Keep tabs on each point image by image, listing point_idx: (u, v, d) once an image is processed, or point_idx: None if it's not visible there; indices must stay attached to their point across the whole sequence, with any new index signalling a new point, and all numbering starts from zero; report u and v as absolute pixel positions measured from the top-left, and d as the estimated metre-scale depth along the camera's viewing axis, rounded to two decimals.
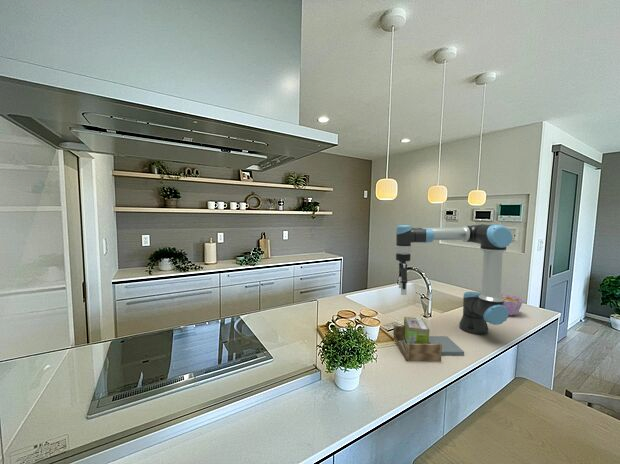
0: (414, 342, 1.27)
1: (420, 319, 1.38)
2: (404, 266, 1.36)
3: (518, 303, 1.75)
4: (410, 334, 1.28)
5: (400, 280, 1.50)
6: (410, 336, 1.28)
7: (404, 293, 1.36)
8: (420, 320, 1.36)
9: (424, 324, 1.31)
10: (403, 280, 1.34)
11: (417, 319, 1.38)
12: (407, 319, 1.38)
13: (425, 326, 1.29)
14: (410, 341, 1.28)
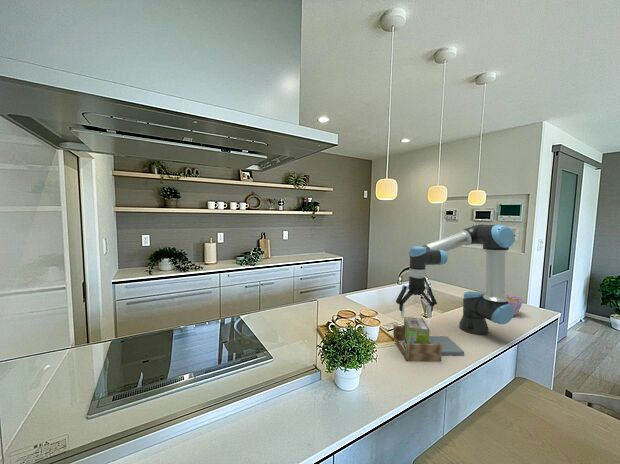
0: (414, 342, 1.27)
1: (420, 319, 1.38)
2: (403, 288, 1.33)
3: (518, 303, 1.75)
4: (410, 334, 1.28)
5: (428, 308, 1.34)
6: (410, 336, 1.28)
7: (401, 315, 1.33)
8: (420, 320, 1.36)
9: (424, 324, 1.31)
10: (396, 300, 1.34)
11: (417, 319, 1.38)
12: (407, 319, 1.38)
13: (425, 326, 1.29)
14: (410, 341, 1.28)
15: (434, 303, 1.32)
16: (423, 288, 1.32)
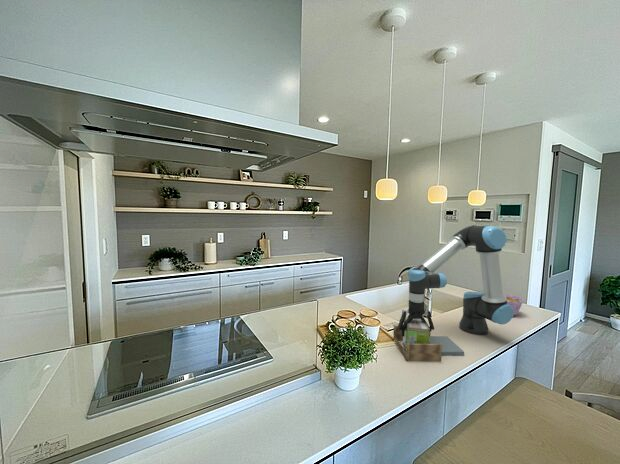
0: (414, 342, 1.27)
1: (420, 319, 1.38)
2: (403, 313, 1.34)
3: (518, 303, 1.75)
4: (410, 334, 1.28)
5: None
6: (410, 336, 1.28)
7: (404, 340, 1.34)
8: (419, 320, 1.36)
9: (424, 324, 1.31)
10: (398, 325, 1.35)
11: (417, 319, 1.38)
12: None
13: (425, 326, 1.29)
14: (410, 341, 1.28)
15: (431, 328, 1.33)
16: (423, 312, 1.32)
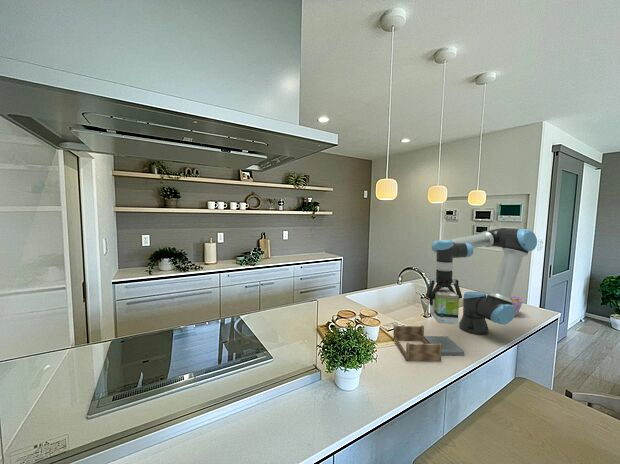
0: (444, 309, 1.29)
1: (447, 288, 1.40)
2: (430, 282, 1.35)
3: (518, 303, 1.75)
4: (439, 301, 1.29)
5: None
6: (439, 303, 1.29)
7: (432, 309, 1.36)
8: (447, 289, 1.38)
9: (452, 292, 1.33)
10: (426, 295, 1.36)
11: (444, 289, 1.39)
12: None
13: (454, 293, 1.31)
14: (440, 308, 1.29)
15: (459, 296, 1.35)
16: (450, 281, 1.34)
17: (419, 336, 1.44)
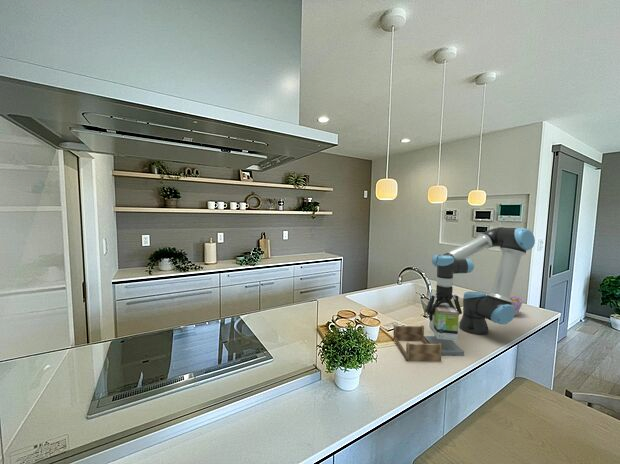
0: (443, 325, 1.30)
1: (447, 304, 1.40)
2: (431, 297, 1.36)
3: (518, 303, 1.75)
4: (439, 317, 1.30)
5: None
6: (439, 319, 1.30)
7: (431, 324, 1.36)
8: (447, 305, 1.38)
9: (452, 308, 1.33)
10: (426, 310, 1.37)
11: (444, 304, 1.40)
12: None
13: (454, 309, 1.31)
14: (439, 324, 1.30)
15: (459, 312, 1.35)
16: (451, 296, 1.35)
17: (419, 336, 1.44)
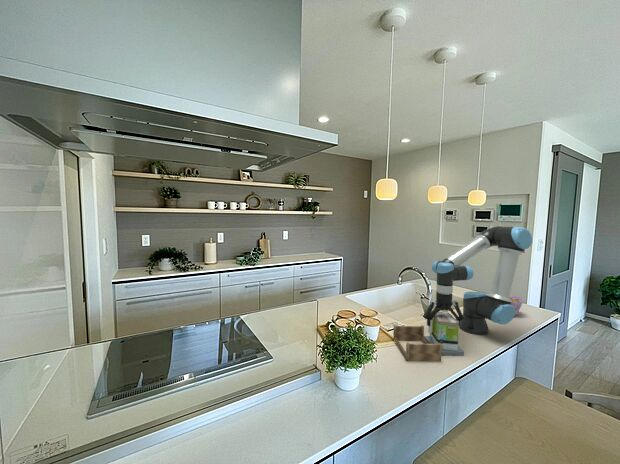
0: (443, 335, 1.30)
1: (447, 313, 1.41)
2: (430, 303, 1.36)
3: (518, 303, 1.75)
4: (440, 328, 1.30)
5: None
6: (440, 330, 1.30)
7: (429, 330, 1.37)
8: (447, 314, 1.39)
9: (452, 318, 1.34)
10: (424, 315, 1.37)
11: (444, 313, 1.40)
12: None
13: (454, 320, 1.31)
14: (440, 334, 1.30)
15: (461, 318, 1.35)
16: (450, 304, 1.35)
17: (419, 336, 1.44)
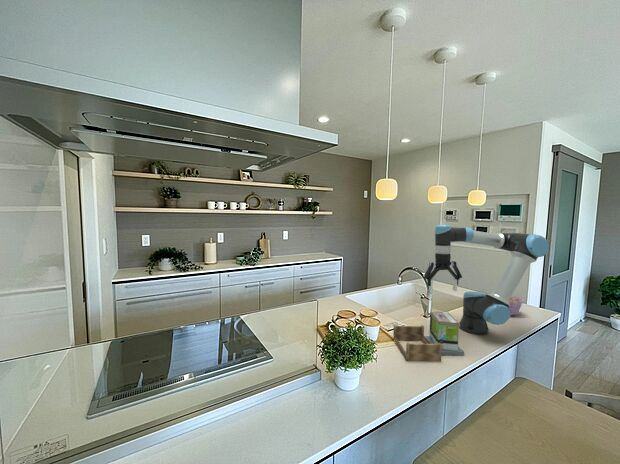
0: (443, 335, 1.30)
1: (447, 313, 1.41)
2: (430, 264, 1.42)
3: (518, 303, 1.75)
4: (440, 328, 1.30)
5: (453, 282, 1.43)
6: (440, 330, 1.30)
7: (430, 290, 1.42)
8: (447, 314, 1.39)
9: (452, 318, 1.34)
10: (424, 276, 1.42)
11: (444, 313, 1.40)
12: (434, 313, 1.41)
13: (454, 320, 1.31)
14: (440, 334, 1.30)
15: (459, 277, 1.42)
16: (449, 263, 1.41)
17: (419, 336, 1.44)
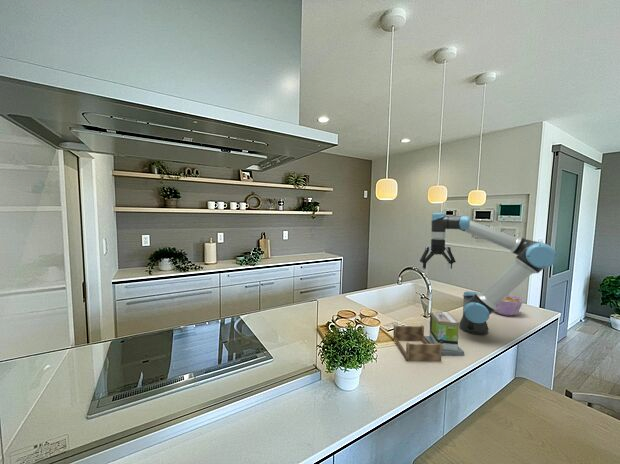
0: (443, 335, 1.30)
1: (447, 313, 1.41)
2: (426, 248, 1.54)
3: (518, 303, 1.75)
4: (440, 328, 1.30)
5: (447, 266, 1.55)
6: (440, 330, 1.30)
7: (425, 272, 1.55)
8: (447, 314, 1.39)
9: (452, 318, 1.34)
10: (420, 260, 1.55)
11: (444, 313, 1.40)
12: (434, 313, 1.41)
13: (454, 320, 1.31)
14: (439, 334, 1.30)
15: (453, 261, 1.54)
16: (443, 248, 1.53)
17: (419, 336, 1.44)
